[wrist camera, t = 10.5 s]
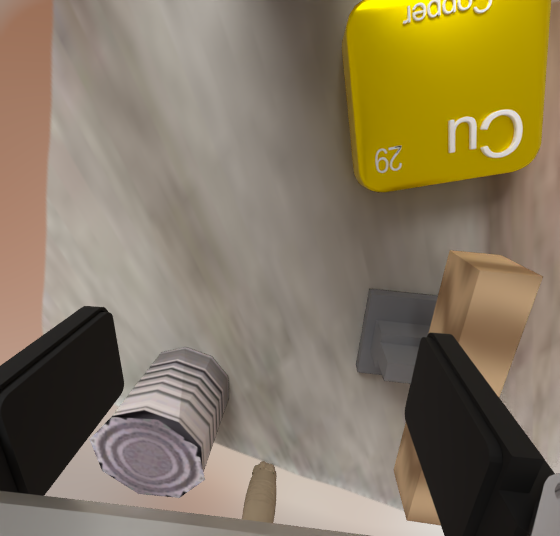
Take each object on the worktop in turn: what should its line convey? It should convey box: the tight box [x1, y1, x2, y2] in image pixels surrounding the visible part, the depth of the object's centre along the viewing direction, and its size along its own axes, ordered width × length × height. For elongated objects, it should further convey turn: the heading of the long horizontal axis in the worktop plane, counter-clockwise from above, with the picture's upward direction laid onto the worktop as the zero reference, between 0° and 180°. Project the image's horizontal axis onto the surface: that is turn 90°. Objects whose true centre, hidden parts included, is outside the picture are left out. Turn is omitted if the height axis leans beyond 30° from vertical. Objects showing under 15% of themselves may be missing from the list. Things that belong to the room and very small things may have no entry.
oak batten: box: [394, 250, 543, 525], centre depth 28 cm, size 24×4×5 cm, turn 175°
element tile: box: [342, 0, 551, 192], centre depth 28 cm, size 15×15×5 cm
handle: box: [242, 461, 276, 523], centre depth 39 cm, size 5×6×15 cm
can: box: [90, 347, 229, 498], centre depth 37 cm, size 11×11×12 cm
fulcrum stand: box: [356, 289, 438, 384], centre depth 34 cm, size 10×12×8 cm
